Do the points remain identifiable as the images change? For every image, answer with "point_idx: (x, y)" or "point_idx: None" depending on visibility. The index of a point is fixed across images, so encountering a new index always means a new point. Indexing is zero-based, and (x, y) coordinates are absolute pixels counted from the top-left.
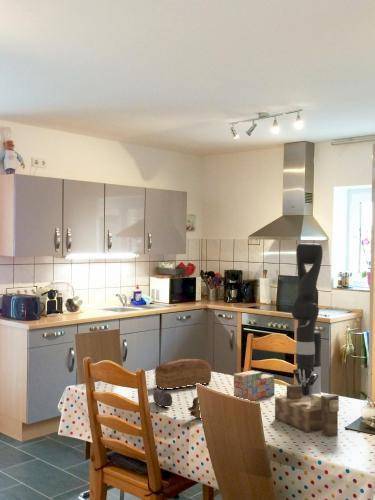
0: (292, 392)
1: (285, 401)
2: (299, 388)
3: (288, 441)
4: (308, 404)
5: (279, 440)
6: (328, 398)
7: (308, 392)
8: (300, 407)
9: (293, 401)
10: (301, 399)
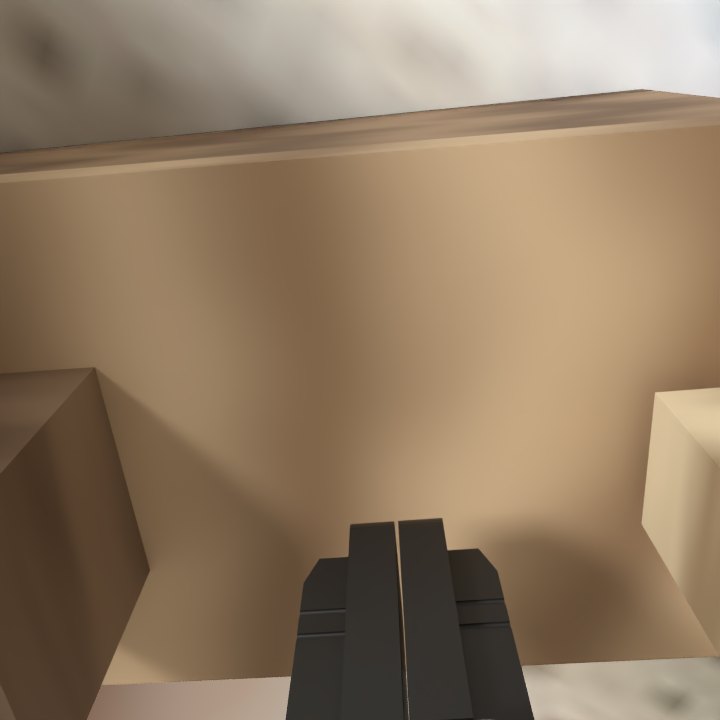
0: (100, 674)
1: (190, 672)
2: (1, 560)
3: (683, 678)
4: (549, 502)
5: (622, 716)
6: None
7: (500, 601)
8: (570, 649)
9: (266, 605)
10: (192, 424)
